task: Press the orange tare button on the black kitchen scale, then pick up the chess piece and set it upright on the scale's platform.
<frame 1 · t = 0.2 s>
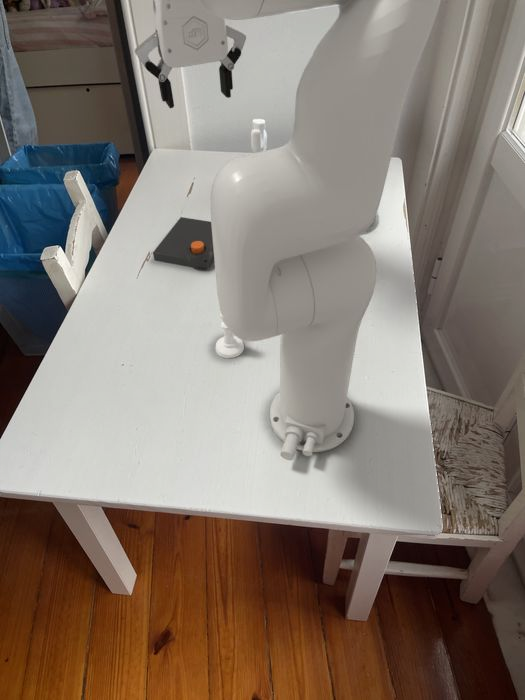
hand: (198, 100, 80), 31 cm above the table, tool pointing down, fingers open, 9 cm apart
casserole: (318, 216, 112), on the table
figurine: (260, 181, 123), on the table
tare button: (197, 247, 98), point 4 cm above the table, slide at 0.2 cm
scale: (194, 246, 105), on the table
chess piece: (229, 348, 84), on the table
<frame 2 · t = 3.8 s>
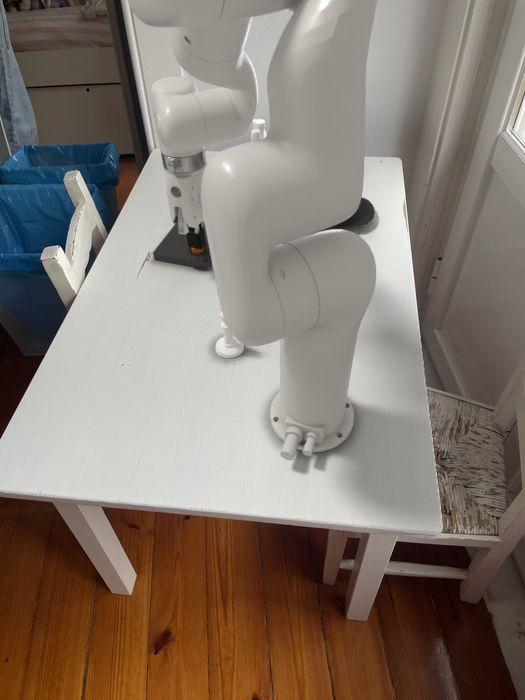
hand: (197, 245, 98), 4 cm above the table, tool pointing down, fingers closed
tare button: (197, 249, 98), point 3 cm above the table, slide at -0.3 cm, touching gripper
everything else where it was.
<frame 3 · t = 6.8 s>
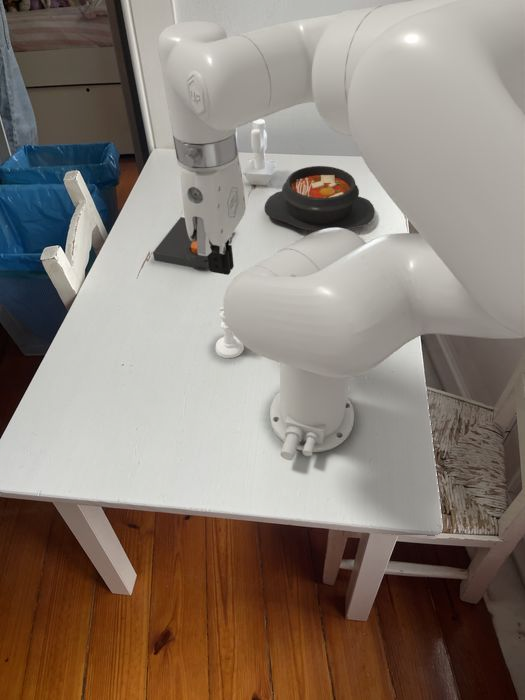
hand: (221, 269, 71), 17 cm above the table, tool pointing down, fingers closed
tare button: (197, 247, 98), point 4 cm above the table, slide at 0.1 cm
everything else where it was.
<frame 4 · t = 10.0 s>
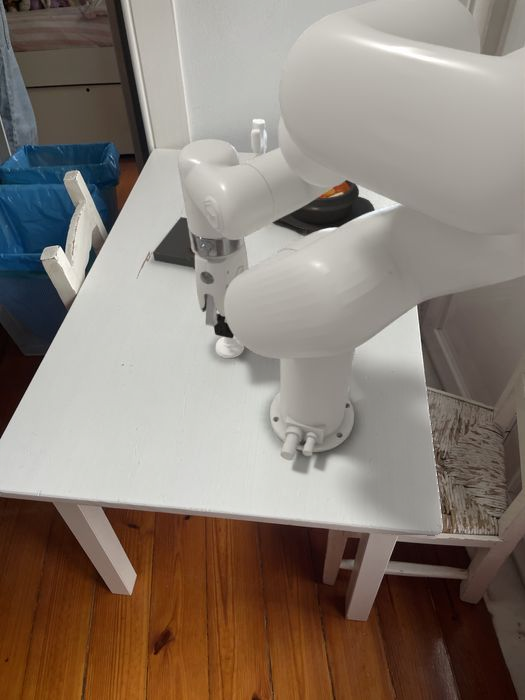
hand: (227, 328, 80), 5 cm above the table, tool pointing down, fingers closed on chess piece
chess piece: (229, 348, 84), on the table, touching gripper
everything else where it was.
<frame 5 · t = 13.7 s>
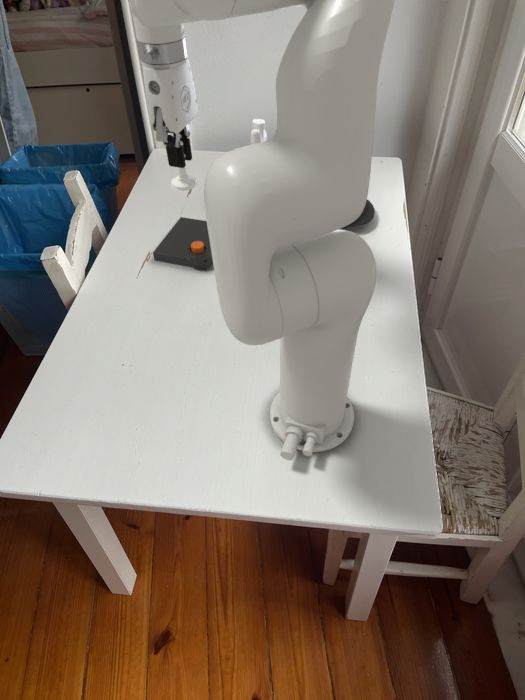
hand: (180, 162, 90), 19 cm above the table, tool pointing down, fingers closed on chess piece
chess piece: (184, 185, 93), point 15 cm above the table, touching gripper
everything else where it was.
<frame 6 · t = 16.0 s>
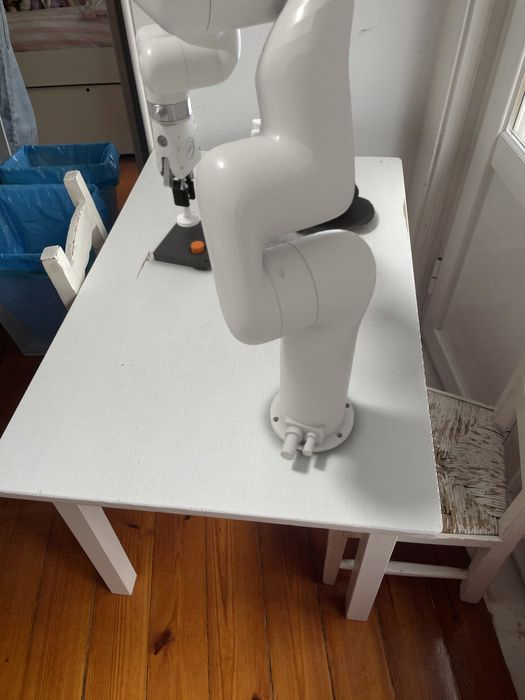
hand: (185, 201, 99), 9 cm above the table, tool pointing down, fingers closed on chess piece
chess piece: (188, 221, 103), point 5 cm above the table, touching gripper
everything else where it was.
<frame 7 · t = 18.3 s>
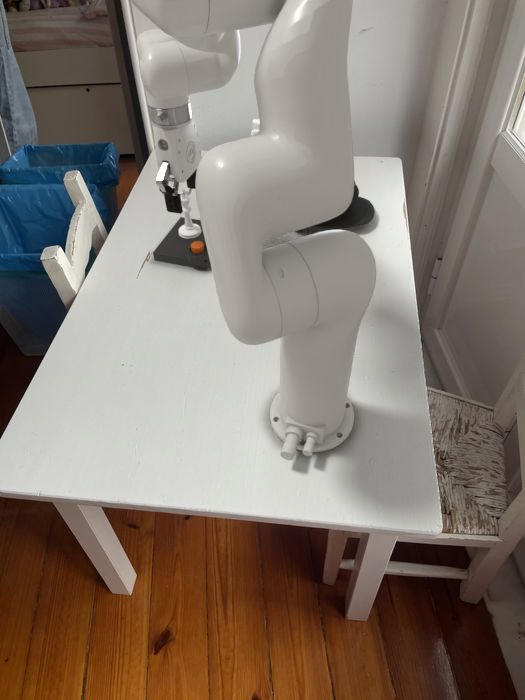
hand: (185, 199, 99), 10 cm above the table, tool pointing down, fingers open, 9 cm apart
chess piece: (190, 233, 105), point 2 cm above the table, touching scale
everything else where it was.
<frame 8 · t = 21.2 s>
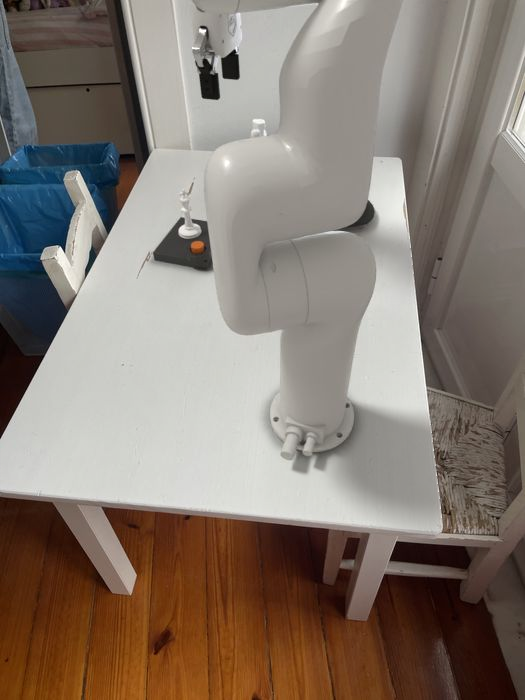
hand: (221, 88, 85), 30 cm above the table, tool pointing down, fingers open, 9 cm apart
nothing on the table moved.
at the end: tare button pushed in 0.7 cm at the most during the clip, back to where it started at the end; chess piece inside the target area on the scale (2.4 cm from its centre), point 1.9 cm above the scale's base; chess piece touching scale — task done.
